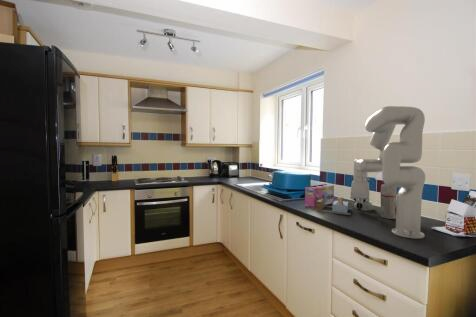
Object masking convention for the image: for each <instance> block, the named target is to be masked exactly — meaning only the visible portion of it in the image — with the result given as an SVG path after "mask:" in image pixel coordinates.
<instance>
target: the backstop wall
mask: <svg viewBox="0 0 476 317" xmlns="http://www.w3.org/2000/svg"><path fill="white" fill-rule="evenodd" d="M324 204H325V198H322V197H321V198H320V199H319V200H318V201H317V205H316V207H315V208H316V212H319V213H320V212H321V210H324V208H325V207H324V206H325V205H324Z"/></svg>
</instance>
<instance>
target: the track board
mask: <svg viewBox="0 0 476 317" xmlns="http://www.w3.org/2000/svg"><path fill="white" fill-rule="evenodd" d="M324 208H327V209H328V208H330V209H331V208H332V205H324ZM352 210H353V208H351V207H350V208H349V207H348V211H352ZM321 212H322V213H329V214H330V213H332V214H339V215H349V216H350V215H351V212H347V213H344V212H335V211H332V210H325V209H322V210H321Z"/></svg>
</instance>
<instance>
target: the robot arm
mask: <svg viewBox="0 0 476 317" xmlns="http://www.w3.org/2000/svg"><path fill="white" fill-rule="evenodd" d="M425 117H426V116H425V113H424V112H423V110H421V109H420V108H418V107H414V106H404V105H403V106H398V105H397V106H395V105H394V106H393V105H390V106H384V107H381V108H380V109H378V110H376V112H374V113H373V114H371V115H370V116H369V117H368V118H367V120H366V122H365V127H364V128H365V130H366V131H367V133H372V136H371V138H370V139H369V144H370V146H371V147H372V148H375V149H376V150H379V155H378V157H377V159H376V158H375V159H373V158H372V159H371V158H368V159H367V158H366V159H365V158H356V159H354V161H353V180H352V181H351V187H350V197H349V200H353V201H354V202H355V203H357V208H358V209H357V210H358V211H362V210H361V209H362V203H364V202H365V201H369V202H370V200H371V199H370V183H369V181H371V178H369V177H368V173H381V172H382V173H381V174H382V175H381V176H382V182H383V184H386V185H387V186H389V187H396V188H399V189H398V191H397V192H396V195H397V199H396V203H397V204H396V219H395V227H393V228H391V233H393V235H395V236H399V237H402V238H407V239H414V240H415V239H416V240H417V239H418V240H419V239H424V238H425V233H424V232H422V231H421V225H422V224H421V223H422V222H421V221H422V220H421V219H422V199H423V189H424V186H425V181H426V173H425V171H424V170H423V169H422V168H421V167H418V166H414V165H401V164H415V163H418V162H419V161H420V160H421V159H422V156H423V132H424V131H423V130H424V127H425V120H426V118H425ZM397 125H403V127H402V129H401V130H400V133H399V141H395V142H394V141H393V142H390V139H391V137H392V135H393V133H394V130H395V129H396V126H397ZM359 198H361V202H360V209H359Z"/></svg>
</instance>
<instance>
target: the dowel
mask: <svg viewBox="0 0 476 317" xmlns="http://www.w3.org/2000/svg"><path fill="white" fill-rule="evenodd" d="M337 201H338V204H339V205H343V201H344V197H343V196H338V197H337Z"/></svg>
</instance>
